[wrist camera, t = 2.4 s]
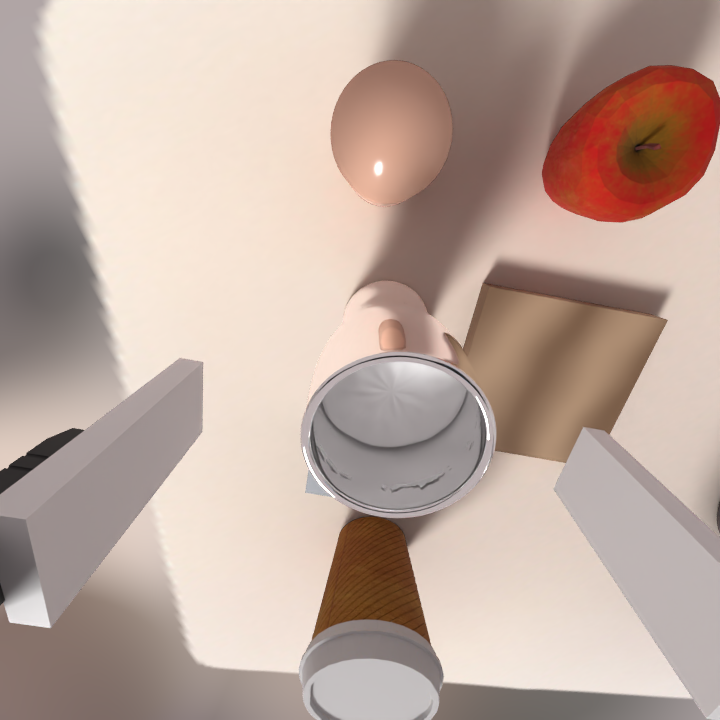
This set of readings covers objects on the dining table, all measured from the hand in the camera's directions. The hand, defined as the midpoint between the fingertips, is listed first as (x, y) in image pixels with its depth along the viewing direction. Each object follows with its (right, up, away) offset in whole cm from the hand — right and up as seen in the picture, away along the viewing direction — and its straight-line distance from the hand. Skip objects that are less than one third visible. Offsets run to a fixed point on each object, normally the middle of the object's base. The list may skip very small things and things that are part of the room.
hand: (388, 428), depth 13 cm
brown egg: (+1, +15, +10) cm, 18 cm away
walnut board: (+12, +1, +15) cm, 19 cm away
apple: (+12, +14, +10) cm, 21 cm away
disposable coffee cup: (0, -15, +21) cm, 26 cm away
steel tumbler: (+1, +5, +14) cm, 15 cm away
